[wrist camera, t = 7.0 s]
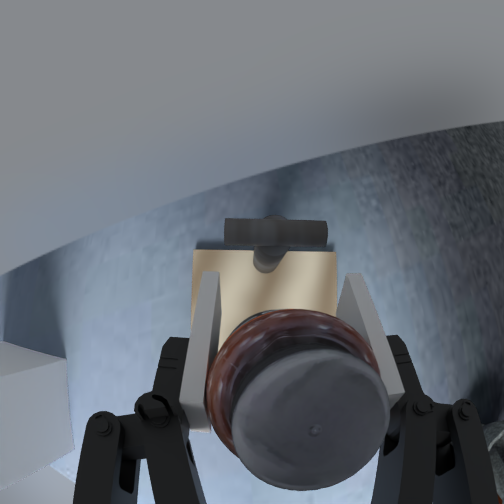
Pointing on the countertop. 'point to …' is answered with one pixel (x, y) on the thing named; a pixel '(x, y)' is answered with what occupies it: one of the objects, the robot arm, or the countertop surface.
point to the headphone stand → (269, 270)
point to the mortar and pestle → (496, 452)
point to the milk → (32, 412)
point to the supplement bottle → (298, 398)
